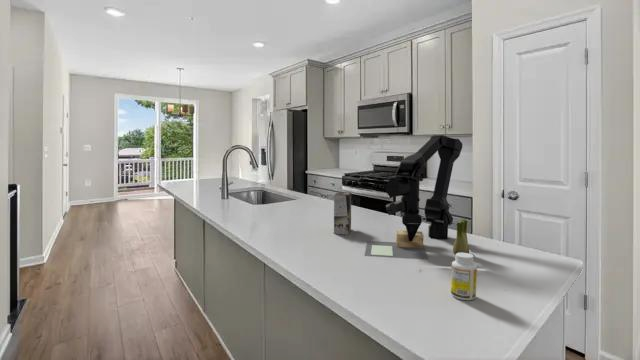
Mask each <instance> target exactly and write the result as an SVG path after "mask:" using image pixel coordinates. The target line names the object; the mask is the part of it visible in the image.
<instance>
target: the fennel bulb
mask: <svg viewBox="0 0 640 360" xmlns="http://www.w3.org/2000/svg"><path fill="white" fill-rule="evenodd" d="M467 228H468V220H467V219H460V221H457V222H456V238H455V240H454V243H453V247H452V252H453V254H454V255H455V256H456V253H469V254H470V245H469V241H468V234H467V232H468V229H467Z"/></svg>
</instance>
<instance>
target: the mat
mask: <svg viewBox="0 0 640 360" xmlns="http://www.w3.org/2000/svg"><path fill="white" fill-rule="evenodd" d="M363 256H364V257H376V258H380V257H381V258H394V259H395V258H396V259H397V258H398V259H412V260H414V259H415V260H429V257H428V253H427V251H426V249H425V246H424V244H423V248H411V247H397V246H396V241H394V242H393V241H379V240H378V241H376V240H375V241H374V240H372V241H371V240H367V241H366V245H365V251H364V255H363Z"/></svg>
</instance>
